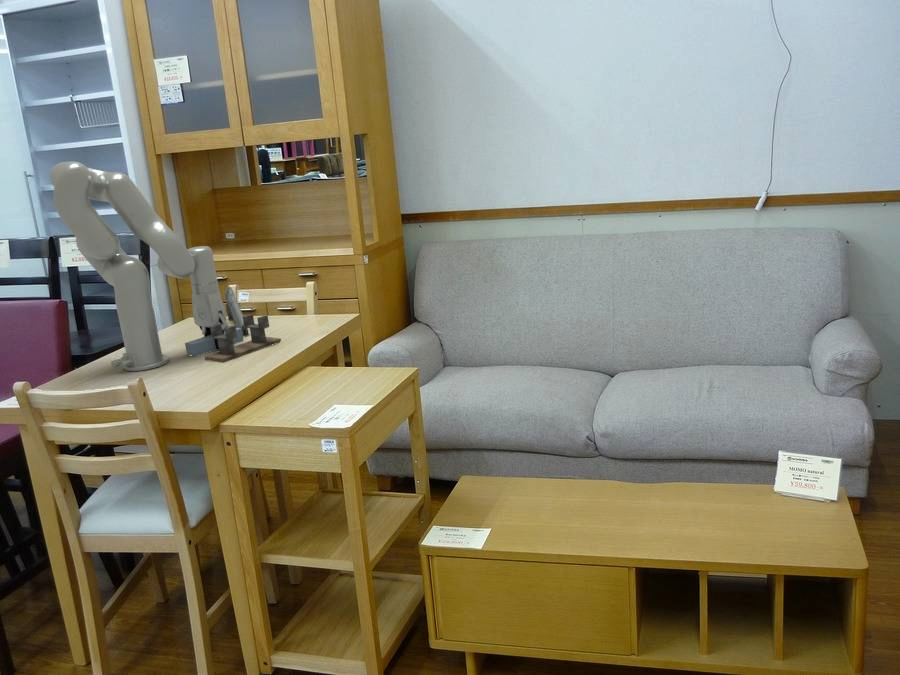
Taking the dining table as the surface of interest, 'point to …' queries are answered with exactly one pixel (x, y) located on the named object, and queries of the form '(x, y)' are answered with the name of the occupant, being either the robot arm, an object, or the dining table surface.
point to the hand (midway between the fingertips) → (215, 346)
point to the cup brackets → (226, 341)
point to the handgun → (234, 310)
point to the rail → (207, 344)
